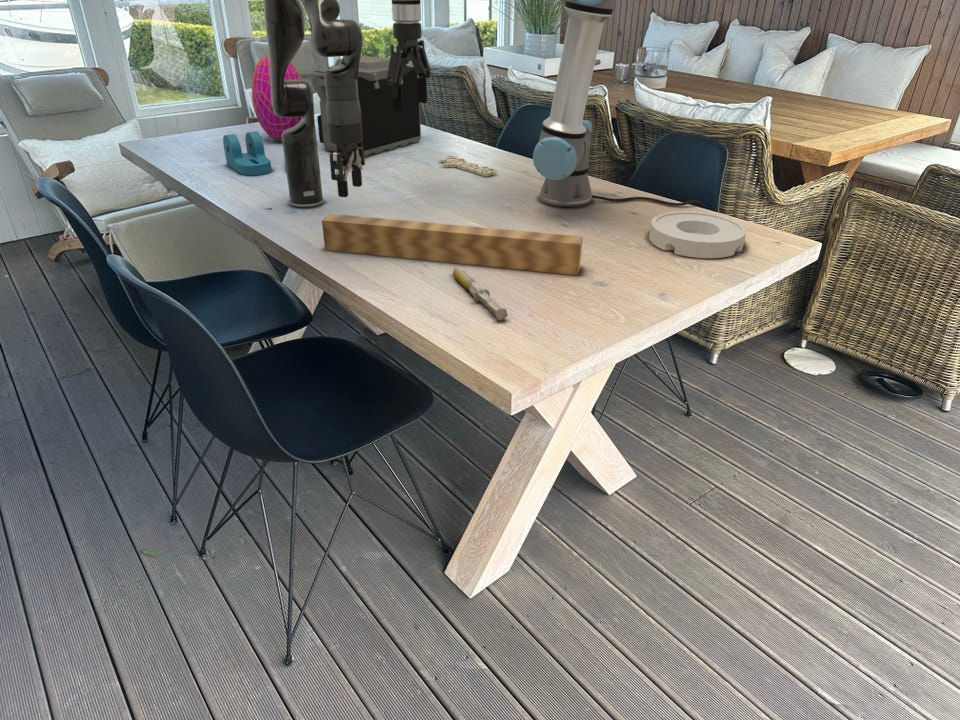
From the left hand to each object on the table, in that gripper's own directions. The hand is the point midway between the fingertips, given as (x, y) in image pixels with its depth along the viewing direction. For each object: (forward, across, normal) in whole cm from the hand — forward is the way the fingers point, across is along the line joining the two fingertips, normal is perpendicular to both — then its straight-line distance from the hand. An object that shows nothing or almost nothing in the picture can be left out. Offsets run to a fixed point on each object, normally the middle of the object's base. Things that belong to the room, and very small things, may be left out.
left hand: (350, 191), depth 161 cm
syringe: (+14, +19, +35) cm, 43 cm away
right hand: (-12, -44, +1) cm, 45 cm away
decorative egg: (+14, -100, -69) cm, 122 cm away
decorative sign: (+14, -79, +8) cm, 81 cm away
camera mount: (+14, -59, -61) cm, 86 cm away
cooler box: (+14, -100, -34) cm, 106 cm away
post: (+14, 0, +24) cm, 28 cm away
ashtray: (+14, -26, +82) cm, 87 cm away
